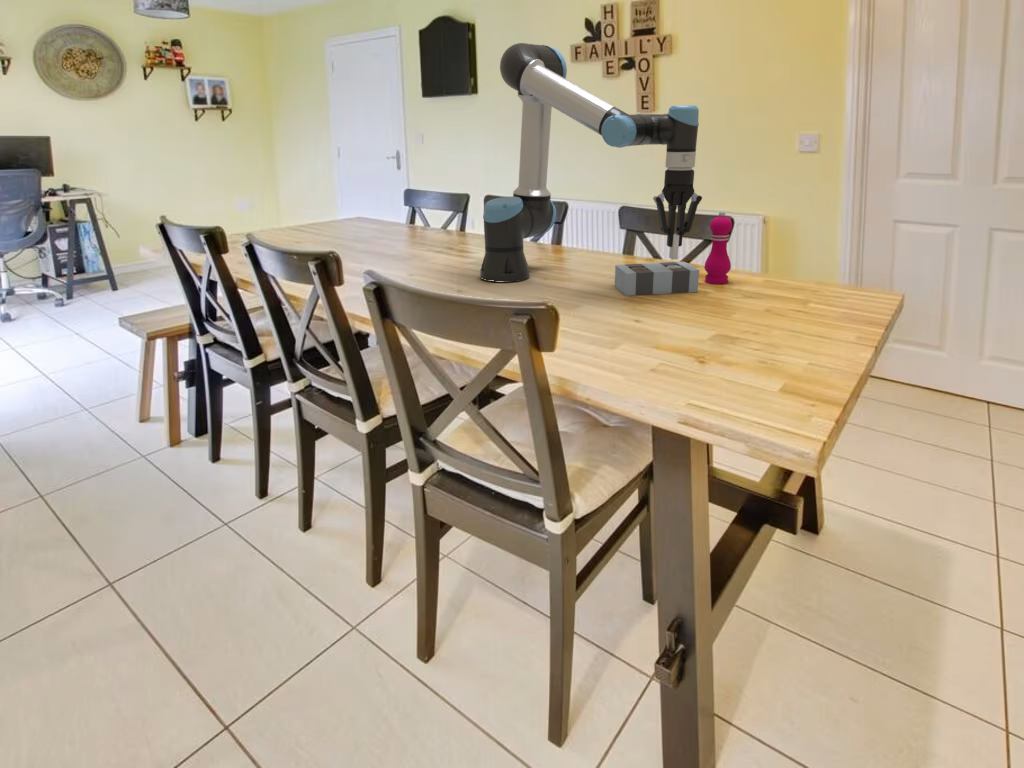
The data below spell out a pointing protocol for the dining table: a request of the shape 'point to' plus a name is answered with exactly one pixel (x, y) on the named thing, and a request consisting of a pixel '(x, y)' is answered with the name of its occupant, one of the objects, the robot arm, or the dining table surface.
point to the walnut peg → (638, 268)
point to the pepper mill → (718, 251)
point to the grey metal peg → (673, 266)
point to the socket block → (656, 278)
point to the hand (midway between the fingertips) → (673, 258)
